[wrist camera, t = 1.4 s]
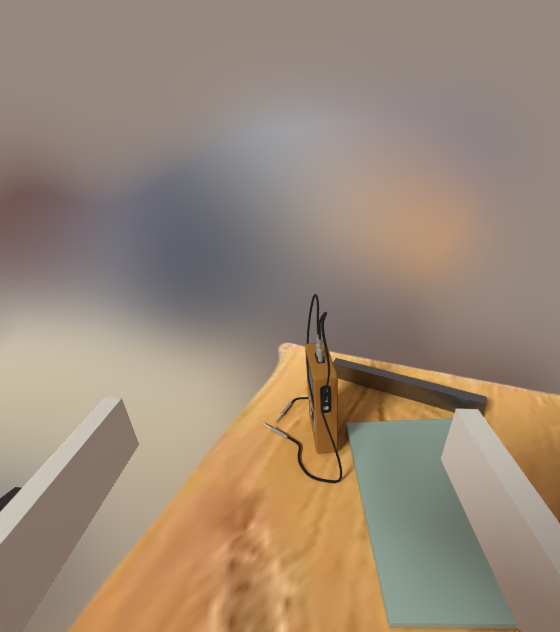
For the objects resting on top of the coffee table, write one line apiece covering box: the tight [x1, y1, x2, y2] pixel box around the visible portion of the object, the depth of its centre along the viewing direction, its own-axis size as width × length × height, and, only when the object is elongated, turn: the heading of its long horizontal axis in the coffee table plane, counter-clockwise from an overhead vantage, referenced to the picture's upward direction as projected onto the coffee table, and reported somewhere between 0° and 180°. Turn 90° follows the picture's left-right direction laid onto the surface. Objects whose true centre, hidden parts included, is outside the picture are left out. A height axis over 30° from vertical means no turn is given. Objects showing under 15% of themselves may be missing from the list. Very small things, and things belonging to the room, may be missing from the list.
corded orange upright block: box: [263, 294, 342, 483], centre depth 36 cm, size 15×10×20 cm
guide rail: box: [333, 358, 486, 416], centre depth 45 cm, size 22×2×3 cm, turn 59°
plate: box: [346, 418, 519, 629], centre depth 31 cm, size 16×20×1 cm
